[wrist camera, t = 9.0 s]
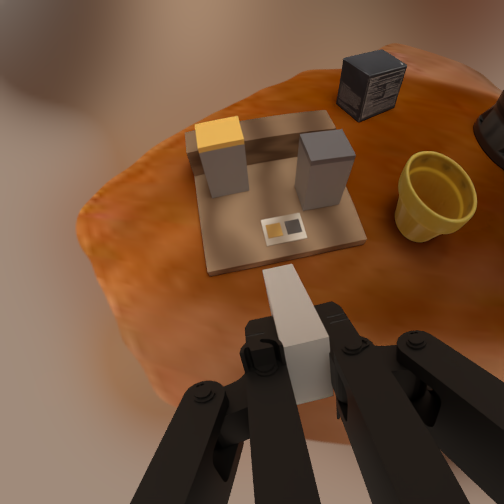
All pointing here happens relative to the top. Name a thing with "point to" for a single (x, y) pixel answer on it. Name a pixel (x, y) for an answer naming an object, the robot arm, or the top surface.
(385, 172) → the top surface
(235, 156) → the button
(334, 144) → the button
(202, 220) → the console
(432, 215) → the plant pot
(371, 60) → the small box
